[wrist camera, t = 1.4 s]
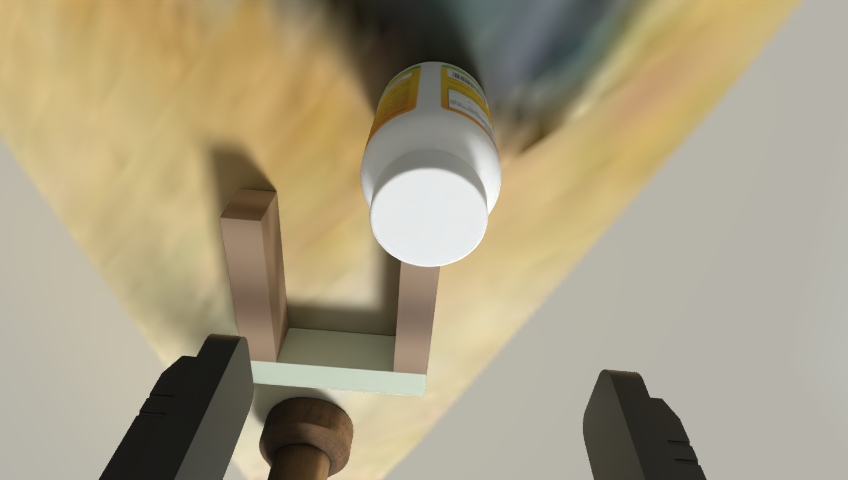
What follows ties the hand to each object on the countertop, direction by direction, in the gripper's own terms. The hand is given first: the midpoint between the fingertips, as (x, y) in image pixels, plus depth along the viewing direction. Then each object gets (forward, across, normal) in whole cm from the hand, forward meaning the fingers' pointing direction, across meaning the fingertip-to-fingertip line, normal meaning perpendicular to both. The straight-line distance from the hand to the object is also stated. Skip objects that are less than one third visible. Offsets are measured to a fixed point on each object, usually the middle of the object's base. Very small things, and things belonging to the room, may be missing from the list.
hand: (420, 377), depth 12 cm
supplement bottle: (+16, 0, 0) cm, 17 cm away
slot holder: (+16, +5, +10) cm, 20 cm away
